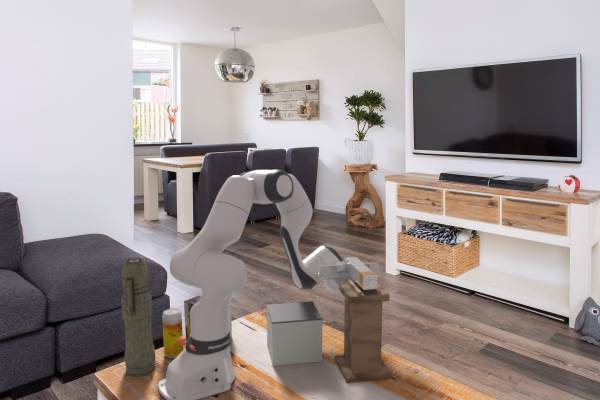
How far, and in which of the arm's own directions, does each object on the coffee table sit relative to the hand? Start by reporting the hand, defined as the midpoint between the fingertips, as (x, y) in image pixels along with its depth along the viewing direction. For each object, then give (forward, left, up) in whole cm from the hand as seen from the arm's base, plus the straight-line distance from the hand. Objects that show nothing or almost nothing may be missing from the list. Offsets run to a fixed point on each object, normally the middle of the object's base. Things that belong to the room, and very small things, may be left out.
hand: (354, 265), depth 151 cm
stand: (-5, -8, -30) cm, 32 cm away
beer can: (-45, +39, -31) cm, 67 cm away
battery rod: (-3, -5, -2) cm, 6 cm away
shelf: (-14, +14, -30) cm, 36 cm away
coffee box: (-35, +39, -31) cm, 60 cm away
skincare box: (-26, +40, -31) cm, 56 cm away
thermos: (-57, +37, -31) cm, 74 cm away
